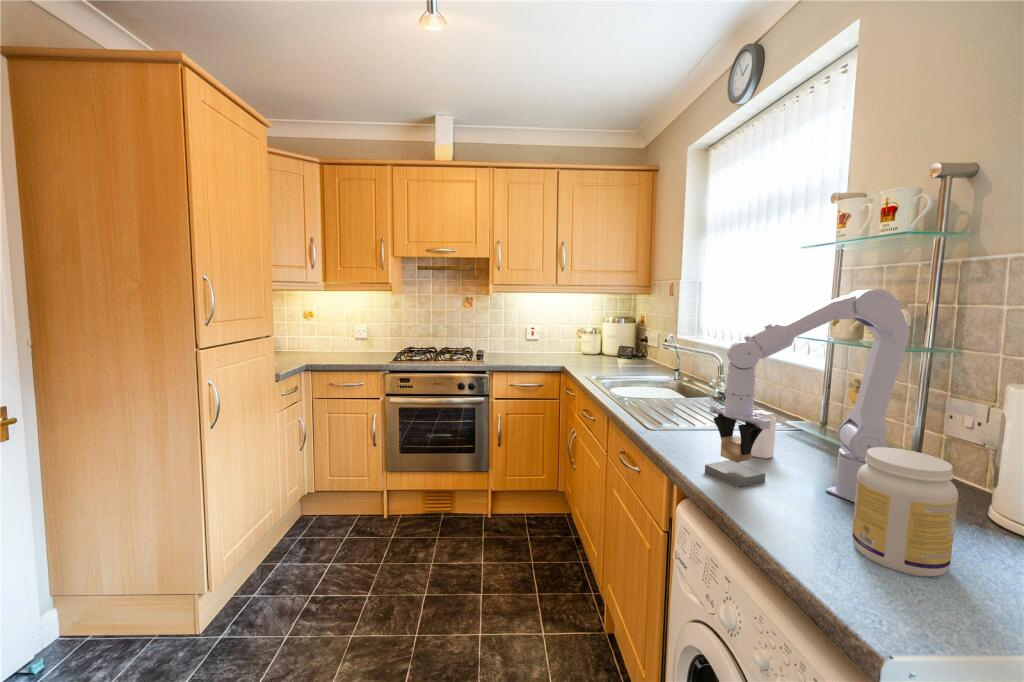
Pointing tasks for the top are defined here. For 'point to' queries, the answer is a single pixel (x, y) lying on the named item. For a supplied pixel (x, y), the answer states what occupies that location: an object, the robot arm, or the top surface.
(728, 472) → the slate base
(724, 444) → the oak block
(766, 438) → the can
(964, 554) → the top surface
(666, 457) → the top surface
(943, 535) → the supplement tub
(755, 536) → the top surface
